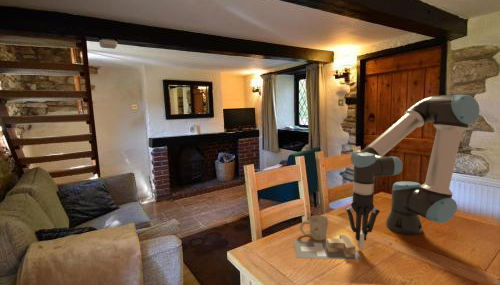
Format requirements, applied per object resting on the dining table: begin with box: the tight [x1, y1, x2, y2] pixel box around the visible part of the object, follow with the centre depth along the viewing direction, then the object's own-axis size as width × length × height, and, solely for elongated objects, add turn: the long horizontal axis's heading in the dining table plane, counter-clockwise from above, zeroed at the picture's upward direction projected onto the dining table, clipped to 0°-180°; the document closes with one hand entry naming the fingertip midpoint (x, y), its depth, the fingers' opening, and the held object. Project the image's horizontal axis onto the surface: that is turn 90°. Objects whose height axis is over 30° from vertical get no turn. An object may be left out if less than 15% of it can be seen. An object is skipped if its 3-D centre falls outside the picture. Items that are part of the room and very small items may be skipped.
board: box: [293, 240, 363, 261], centre depth 107 cm, size 25×13×2 cm, turn 86°
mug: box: [299, 214, 329, 241], centre depth 117 cm, size 8×13×10 cm, turn 78°
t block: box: [326, 234, 357, 257], centre depth 106 cm, size 10×10×4 cm
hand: (360, 247), depth 105 cm, fingers closed
